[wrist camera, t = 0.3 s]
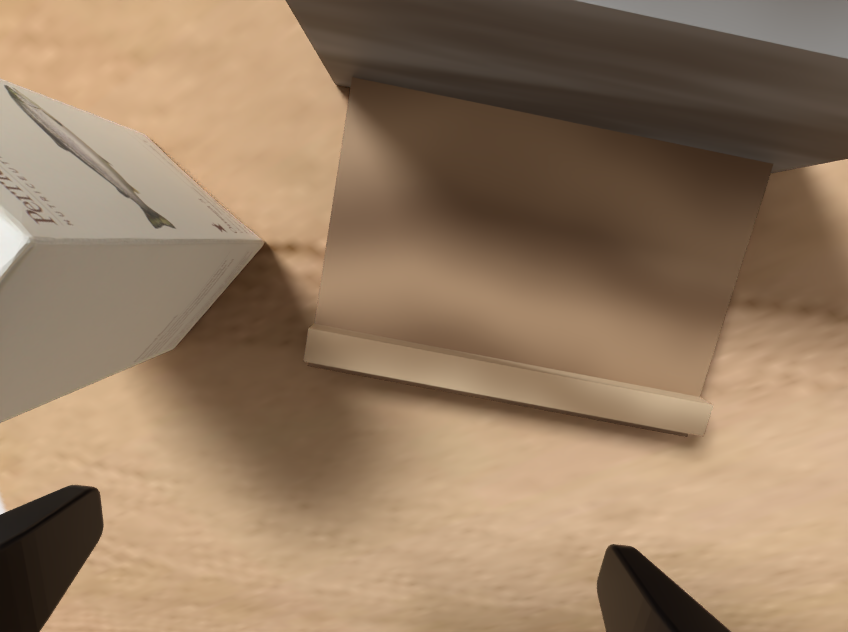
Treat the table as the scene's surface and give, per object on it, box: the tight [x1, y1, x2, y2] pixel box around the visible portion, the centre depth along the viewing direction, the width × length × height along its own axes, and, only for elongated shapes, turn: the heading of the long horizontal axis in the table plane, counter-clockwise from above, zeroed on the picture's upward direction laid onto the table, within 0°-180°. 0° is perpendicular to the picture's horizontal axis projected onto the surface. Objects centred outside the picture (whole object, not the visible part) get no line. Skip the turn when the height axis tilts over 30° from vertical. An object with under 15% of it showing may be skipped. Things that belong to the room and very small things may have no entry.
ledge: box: [286, 0, 848, 437], centre depth 16 cm, size 14×20×10 cm
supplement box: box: [0, 79, 264, 423], centre depth 15 cm, size 7×7×13 cm
